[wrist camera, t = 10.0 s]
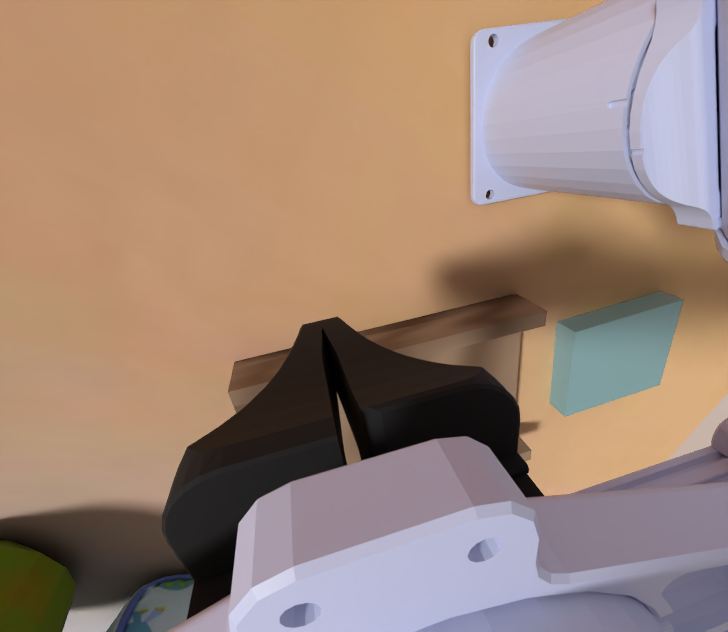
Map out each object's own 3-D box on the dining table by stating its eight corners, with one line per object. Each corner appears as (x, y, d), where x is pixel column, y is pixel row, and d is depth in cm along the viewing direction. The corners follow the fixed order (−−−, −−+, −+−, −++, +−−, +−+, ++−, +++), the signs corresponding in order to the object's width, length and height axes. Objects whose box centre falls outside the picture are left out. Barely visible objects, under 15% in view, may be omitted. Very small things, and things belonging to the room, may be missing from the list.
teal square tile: (653, 289, 27) (683, 299, 25) (635, 370, 30) (659, 384, 28) (552, 319, 25) (575, 332, 24) (545, 399, 29) (564, 416, 27)
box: (516, 293, 23) (546, 311, 20) (507, 431, 29) (530, 459, 26) (234, 362, 20) (227, 392, 18) (287, 498, 26) (288, 536, 24)
